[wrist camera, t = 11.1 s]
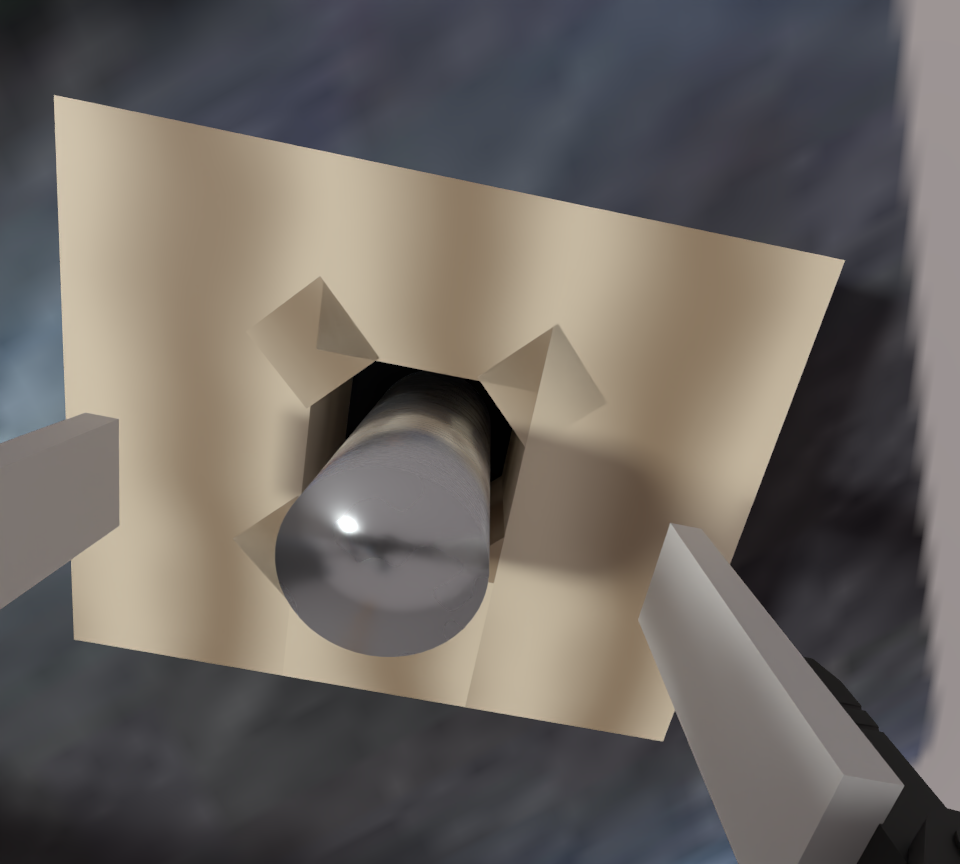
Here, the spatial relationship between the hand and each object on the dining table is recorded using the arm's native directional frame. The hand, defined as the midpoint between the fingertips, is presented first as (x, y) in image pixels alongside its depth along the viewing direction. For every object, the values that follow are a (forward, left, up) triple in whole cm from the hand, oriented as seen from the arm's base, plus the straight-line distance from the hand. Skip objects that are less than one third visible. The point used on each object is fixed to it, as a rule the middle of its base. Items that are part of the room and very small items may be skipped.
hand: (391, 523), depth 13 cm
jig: (0, 0, -8) cm, 8 cm away
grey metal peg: (0, 0, -8) cm, 8 cm away
